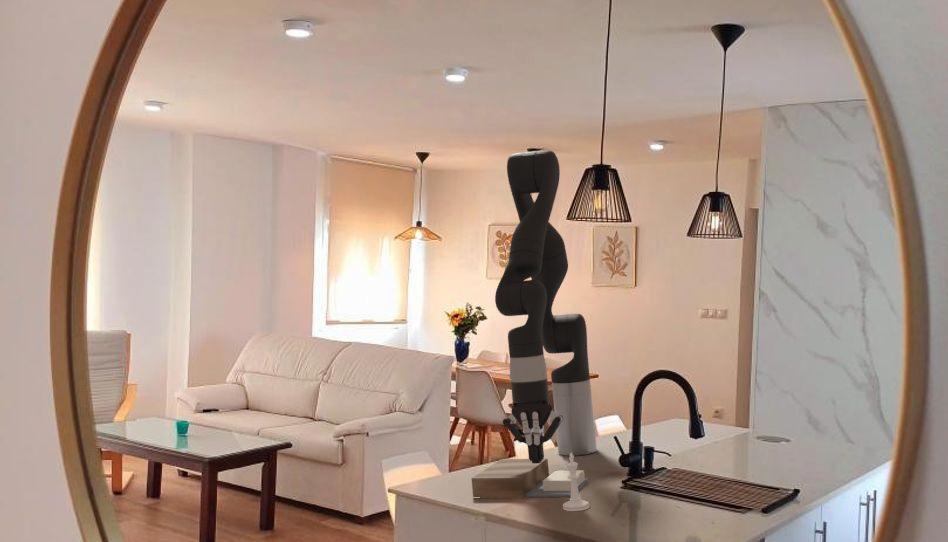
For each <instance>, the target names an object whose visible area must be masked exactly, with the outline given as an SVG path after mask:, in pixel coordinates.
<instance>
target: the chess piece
mask: <svg viewBox="0 0 948 542" xmlns="http://www.w3.org/2000/svg"><path fill="white" fill-rule="evenodd" d="M574 458H575V455H573V453H570V455H569V457H568V460H569V462H567V463H566V467H567V469H568V471H569V472H570V475H569V476H568V479H571V497H570V498H569V500H568V501H565V502H564V503H563V504H562V510H564V511H567V512H582V511H585V510H588V509H589V508H591V507H590V502H589V501H587V500H584V499H583V498H582V497H581V496H580V491H579V490H578V486H577V481H576V479H577V478H579V475H576V470H577V468H578V464H579V463H578V462H576V461H574Z"/></svg>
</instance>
